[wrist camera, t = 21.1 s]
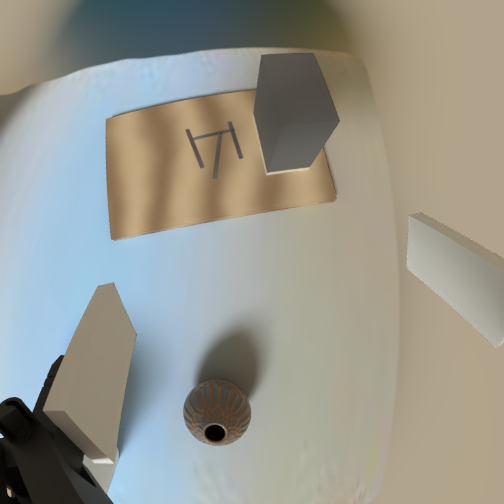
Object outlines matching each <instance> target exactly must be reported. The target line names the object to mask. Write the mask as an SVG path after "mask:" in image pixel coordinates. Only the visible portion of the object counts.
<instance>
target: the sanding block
mask: <svg viewBox="0 0 504 504" xmlns="http://www.w3.org/2000/svg"><path fill="white" fill-rule="evenodd" d="M253 120H254V124H255V128H256V132H257V137H258V141H259V146H260V150H261V154H262V159H263V163H264V168H265V172H266V175H272V174H280V173H287V172H295V171H302V170H308V169H309V168H310V166H311V165H312V163H313V162H314V160H315V159H316V157H317V156H318V154H319V153H320V151H321V149H322V148H323V146H324V145H325V143H326V142H327V140H328V139H329V137H330V136H331V134H332V132H333V131H334V129H335V128H336V126H337V125H338V123H339V122H340V120H339V118H338V115H337V112H336V109H335V106H334V104H333V101H332V98H331V95H330V93H329V90H328V88H327V85H326V82H325V80H324V77H323V75H322V72H321V70H320V67H319V65H318V63H317V60H316V58H315V56H314V53H288V54H267V55H261V62H260V69H259V76H258V83H257V90H256V97H255V104H254V111H253Z"/></svg>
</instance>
